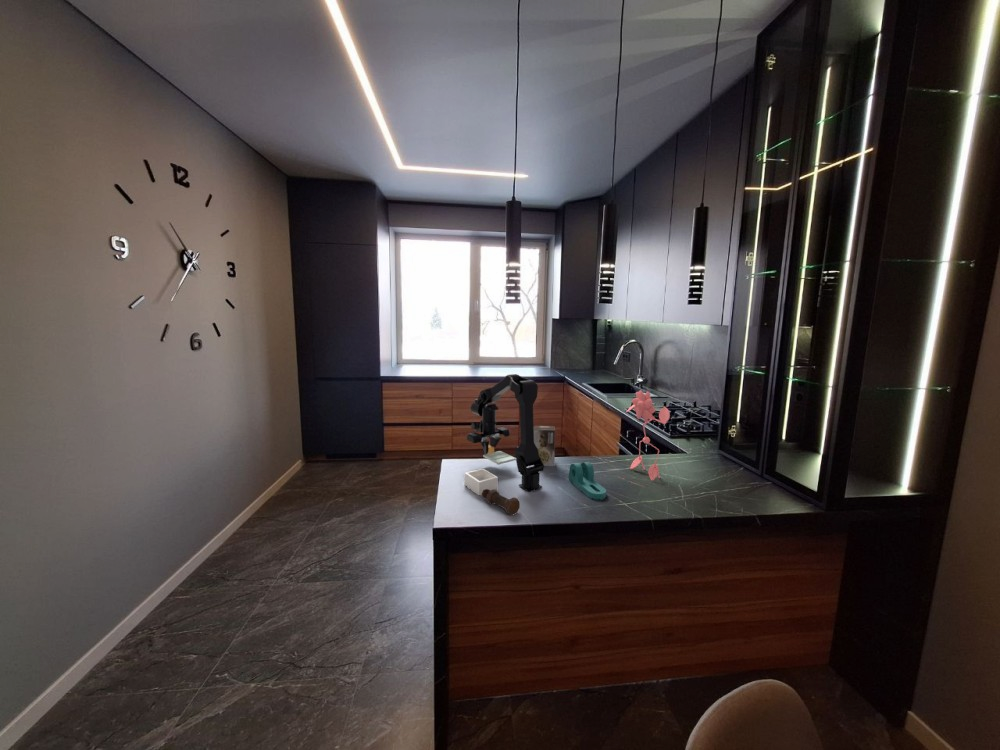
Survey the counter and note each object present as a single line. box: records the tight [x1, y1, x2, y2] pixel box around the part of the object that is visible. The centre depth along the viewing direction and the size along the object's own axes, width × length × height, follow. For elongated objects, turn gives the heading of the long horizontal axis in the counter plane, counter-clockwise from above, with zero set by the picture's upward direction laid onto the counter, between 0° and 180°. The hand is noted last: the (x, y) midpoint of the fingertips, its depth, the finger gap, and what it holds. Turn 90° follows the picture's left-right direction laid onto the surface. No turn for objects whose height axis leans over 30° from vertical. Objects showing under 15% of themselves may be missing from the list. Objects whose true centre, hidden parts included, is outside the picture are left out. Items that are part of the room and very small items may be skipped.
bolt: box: [481, 489, 521, 516], centre depth 131 cm, size 6×5×15 cm
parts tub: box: [464, 468, 499, 496], centre depth 144 cm, size 10×8×5 cm
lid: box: [482, 444, 516, 466], centre depth 163 cm, size 15×9×3 cm, turn 35°
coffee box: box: [532, 425, 556, 467], centre depth 168 cm, size 9×6×16 cm
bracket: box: [568, 461, 607, 500], centre depth 145 cm, size 18×7×8 cm, turn 16°
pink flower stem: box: [621, 389, 671, 487], centre depth 155 cm, size 15×26×35 cm, turn 17°
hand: (488, 454), depth 168 cm, fingers closed on lid, 2 cm apart
